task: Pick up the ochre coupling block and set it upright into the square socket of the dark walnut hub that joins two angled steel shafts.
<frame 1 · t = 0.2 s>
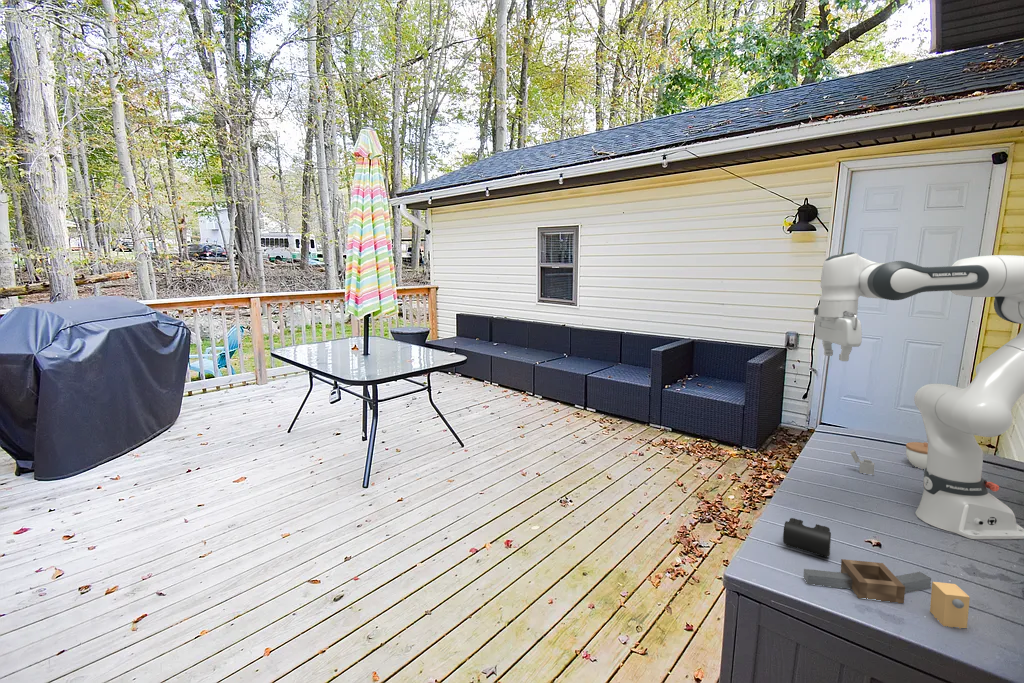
hand: (835, 358, 129), 48 cm above the table, tool pointing down, fingers open, 8 cm apart
lidded jar: (923, 467, 164), on the table
coupling block: (947, 620, 92), on the table
steel shafts: (870, 588, 102), on the table
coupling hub: (870, 588, 102), on the table
lighter: (861, 473, 161), on the table
end cap: (806, 550, 117), on the table
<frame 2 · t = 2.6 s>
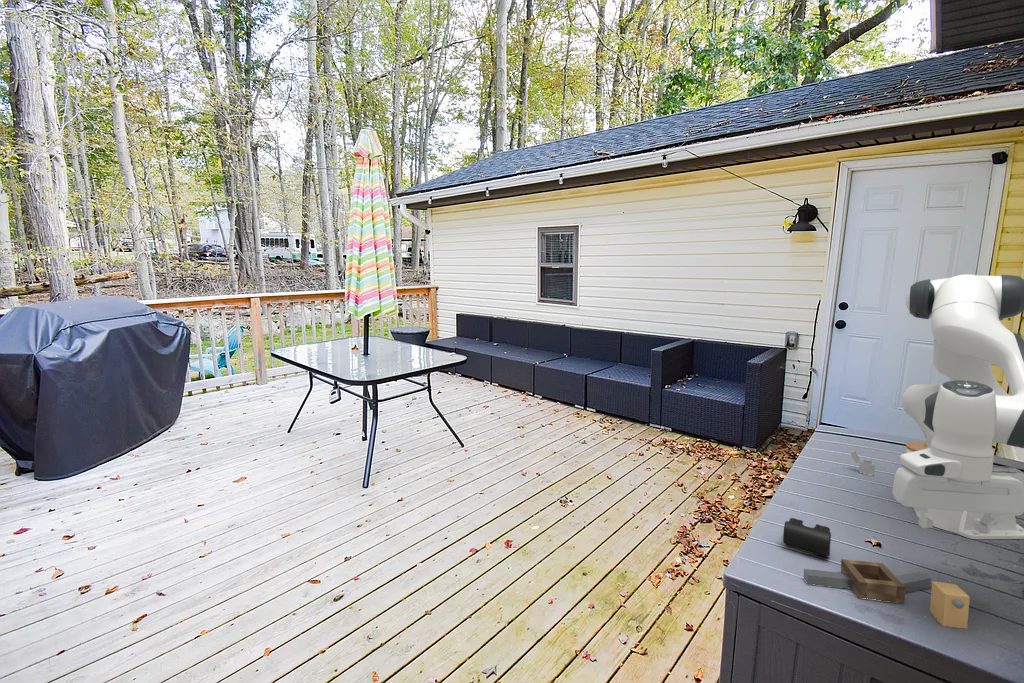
hand: (953, 529, 90), 20 cm above the table, tool pointing down, fingers open, 8 cm apart
nothing on the table moved.
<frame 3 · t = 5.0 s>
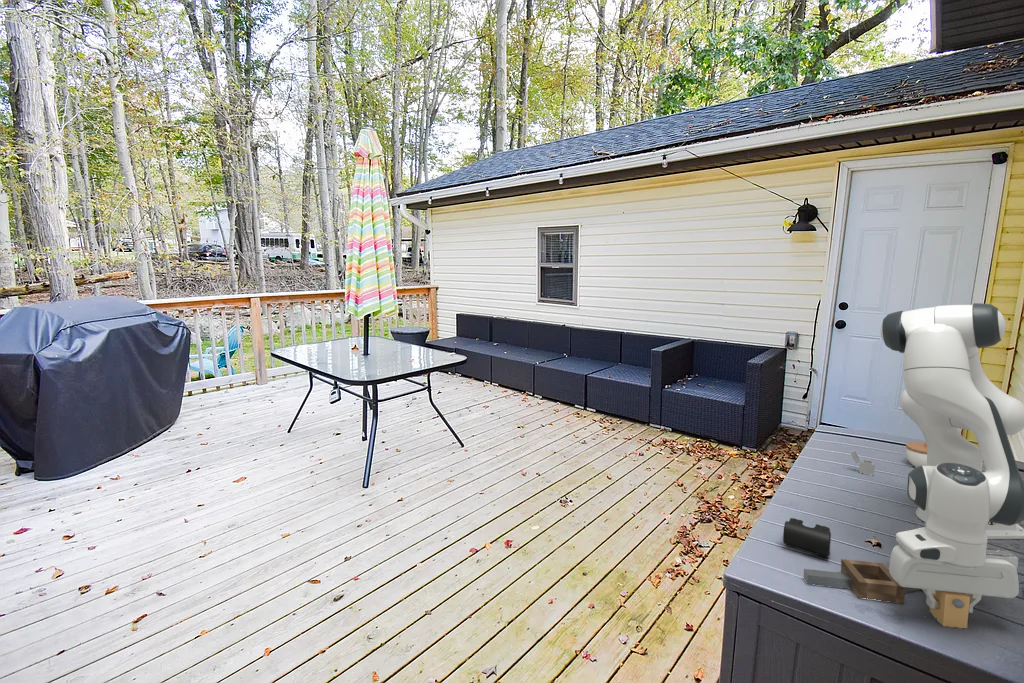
hand: (948, 608, 91), 3 cm above the table, tool pointing down, fingers closed on coupling block, 4 cm apart
coupling block: (947, 620, 92), on the table, touching gripper
everything else where it was.
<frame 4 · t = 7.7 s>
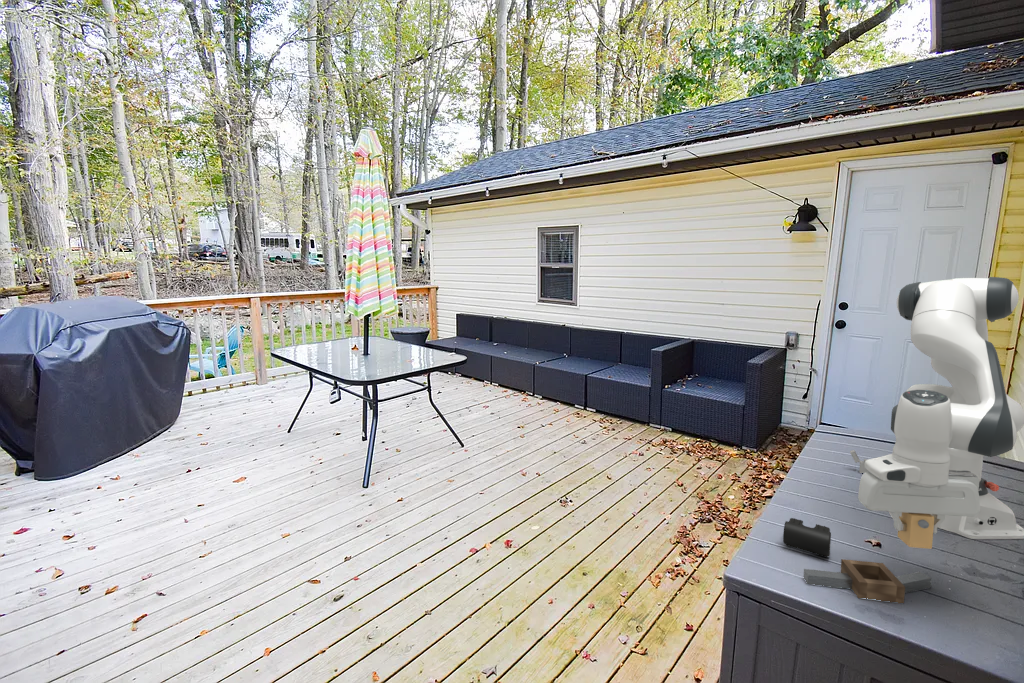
hand: (914, 530, 95), 17 cm above the table, tool pointing down, fingers closed on coupling block, 4 cm apart
coupling block: (914, 542, 95), point 14 cm above the table, touching gripper
everything else where it was.
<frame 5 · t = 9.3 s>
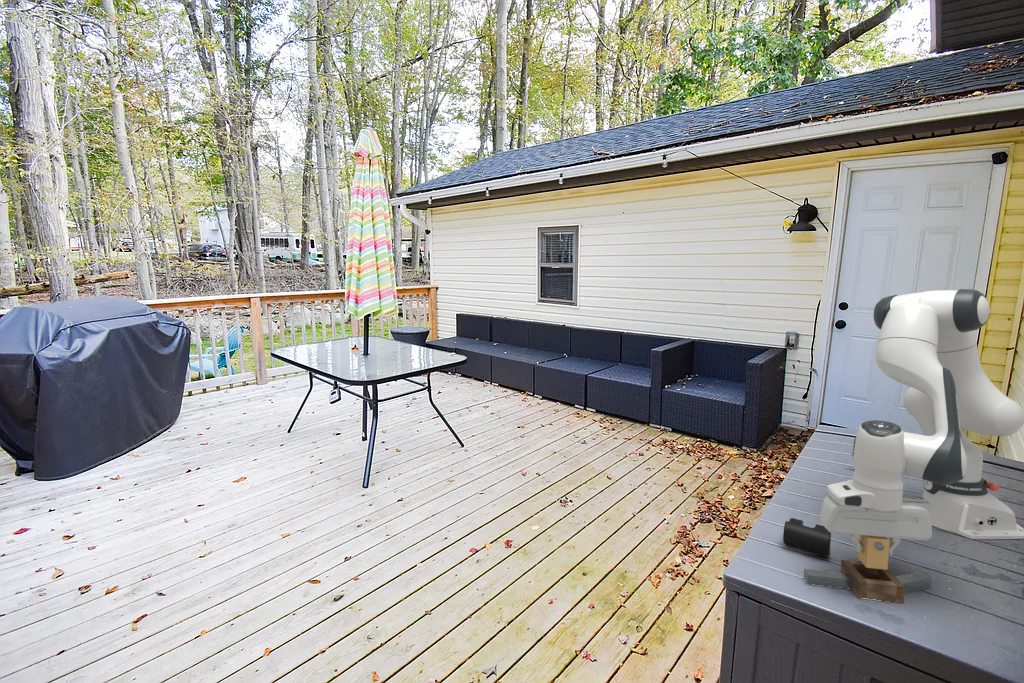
hand: (872, 552, 101), 9 cm above the table, tool pointing down, fingers closed on coupling block, 4 cm apart
coupling block: (872, 563, 101), point 6 cm above the table, touching gripper
everything else where it was.
when the fingers open (5 cm above the table, at t = 10.4 s): coupling block drops 2 cm, resting in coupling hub.
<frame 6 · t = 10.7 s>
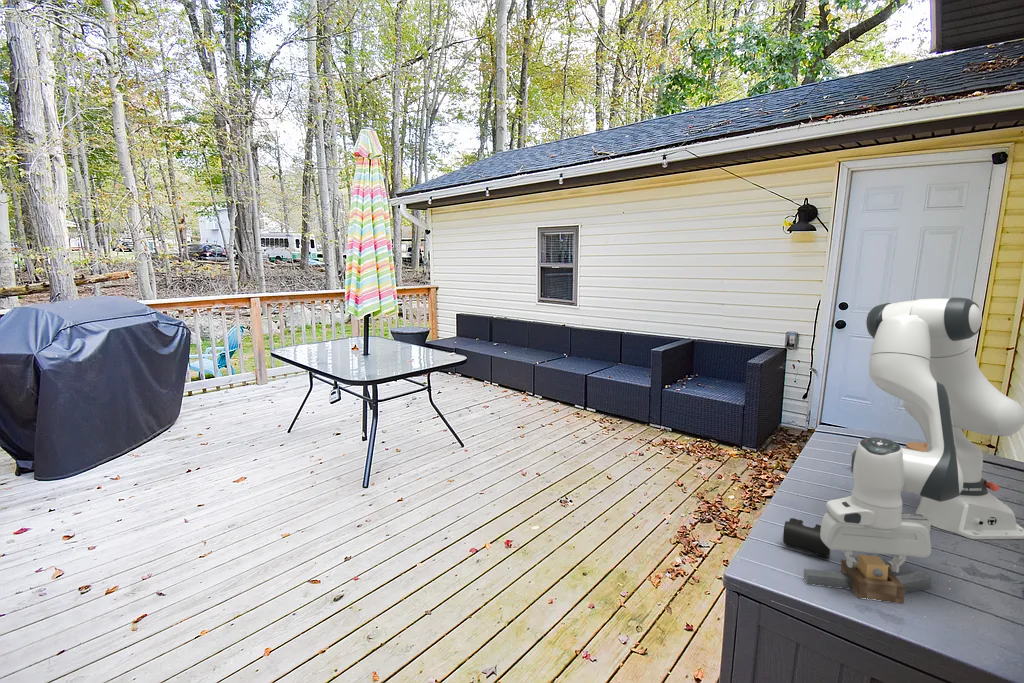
hand: (871, 568, 101), 5 cm above the table, tool pointing down, fingers open, 7 cm apart
coupling block: (870, 588, 102), resting in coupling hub
everything else where it was.
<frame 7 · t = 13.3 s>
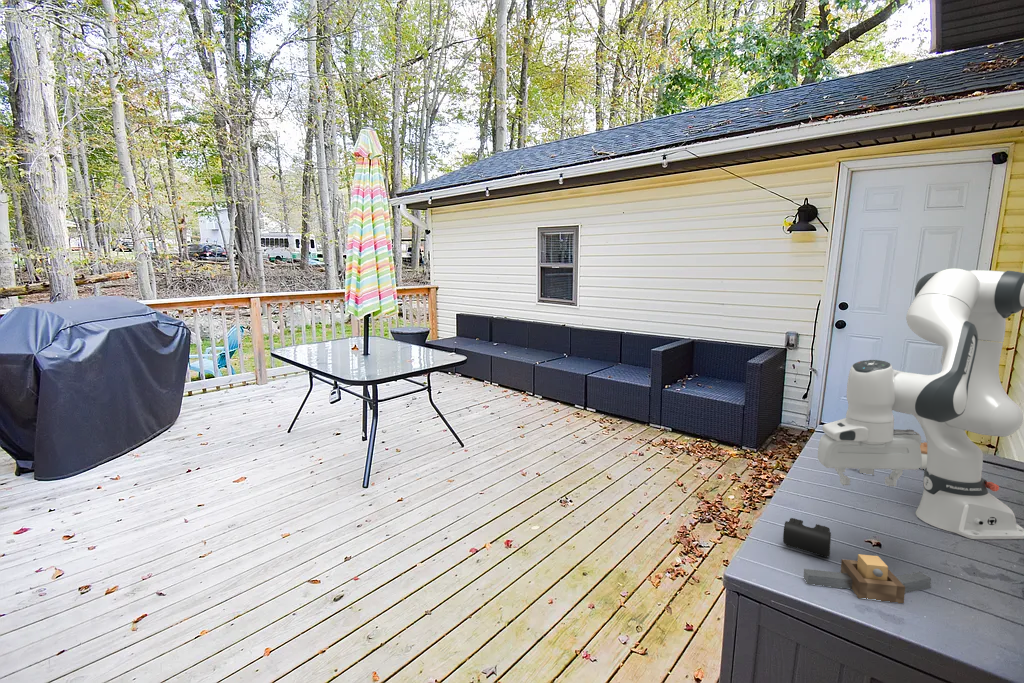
hand: (867, 484, 107), 21 cm above the table, tool pointing down, fingers open, 8 cm apart
nothing on the table moved.
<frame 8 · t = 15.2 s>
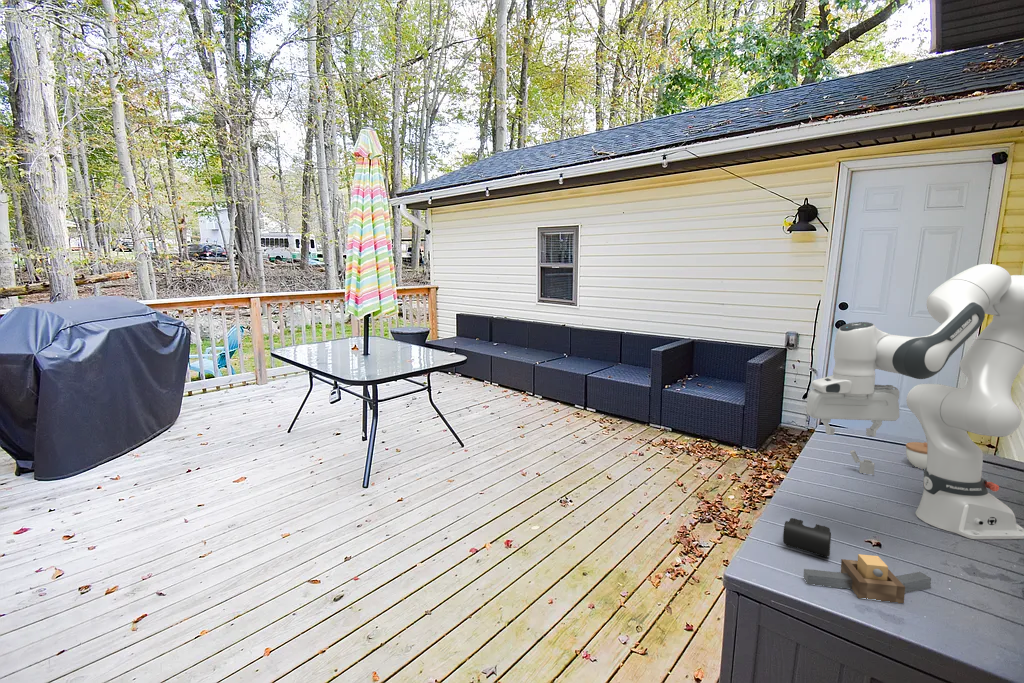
hand: (850, 435, 119), 29 cm above the table, tool pointing down, fingers open, 8 cm apart
nothing on the table moved.
at the end: coupling block 0.1 cm off-centre on the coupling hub, point 0.0 cm above the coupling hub's base; coupling block tilted 0°; the gripper is holding nothing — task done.
